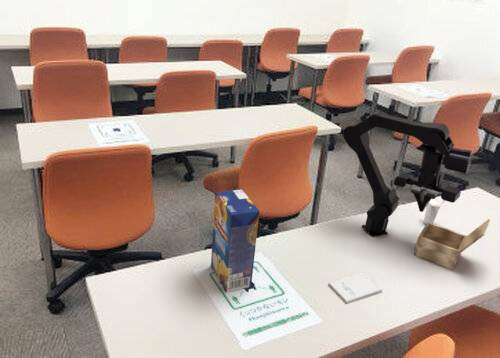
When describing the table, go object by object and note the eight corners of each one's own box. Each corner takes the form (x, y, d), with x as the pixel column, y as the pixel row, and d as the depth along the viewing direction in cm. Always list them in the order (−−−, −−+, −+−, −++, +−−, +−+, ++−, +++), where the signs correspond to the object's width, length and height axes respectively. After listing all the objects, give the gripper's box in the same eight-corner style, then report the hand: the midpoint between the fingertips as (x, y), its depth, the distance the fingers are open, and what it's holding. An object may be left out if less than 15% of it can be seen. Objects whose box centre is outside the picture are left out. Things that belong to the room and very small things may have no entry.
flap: (482, 233, 131) (484, 235, 131) (488, 218, 140) (490, 220, 139) (459, 251, 137) (461, 252, 137) (466, 236, 145) (468, 237, 145)
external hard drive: (381, 293, 128) (345, 305, 122) (361, 276, 134) (327, 286, 129) (382, 289, 127) (347, 300, 122) (363, 271, 134) (328, 282, 128)
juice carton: (251, 287, 125) (259, 211, 114) (225, 292, 122) (231, 215, 111) (234, 261, 135) (241, 188, 124) (210, 265, 132) (215, 192, 121)
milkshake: (438, 228, 162) (445, 203, 157) (422, 225, 163) (429, 200, 158) (436, 221, 166) (443, 197, 161) (420, 218, 167) (427, 194, 162)
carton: (412, 255, 145) (418, 236, 142) (422, 239, 154) (427, 221, 151) (452, 271, 140) (459, 252, 136) (460, 253, 148) (467, 235, 145)
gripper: (471, 166, 139) (460, 211, 145) (411, 150, 150) (403, 194, 156) (459, 177, 131) (448, 225, 137) (397, 160, 142) (389, 205, 148)
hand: (421, 211), depth 145 cm, fingers closed
